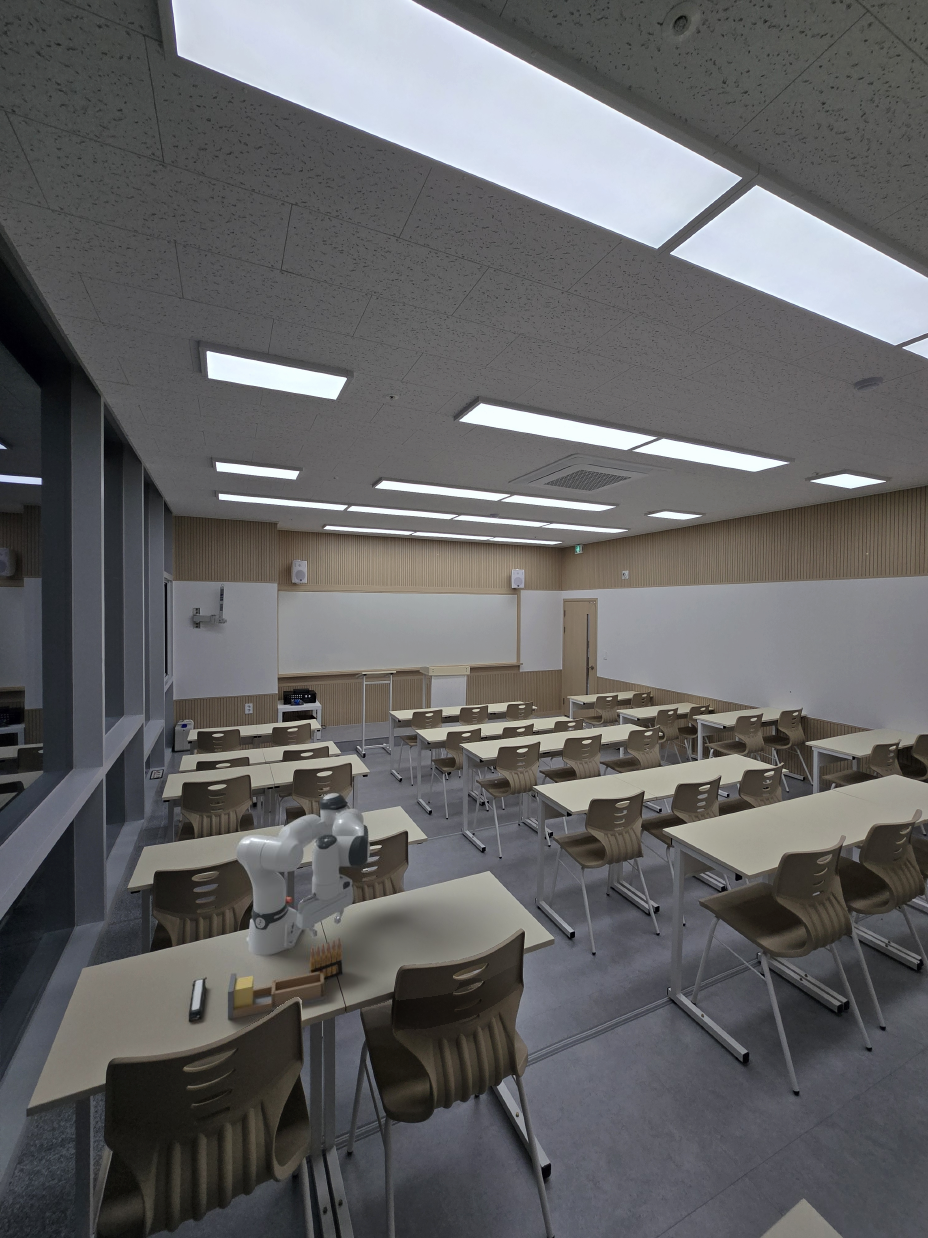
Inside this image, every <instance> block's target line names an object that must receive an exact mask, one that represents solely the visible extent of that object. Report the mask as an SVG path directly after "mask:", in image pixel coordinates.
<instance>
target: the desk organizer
mask: <svg viewBox="0 0 928 1238" xmlns="http://www.w3.org/2000/svg"><path fill="white" fill-rule="evenodd" d="M236 979H237V972H236V973H230V979H229V984H228V989H227V1020H233V1019H236V1018H241V1017H247V1016H252V1015H256V1014H261V1013H266V1012H271V1011H275V1010H274V1009H276V1008H277V1007H279V1006H280V1005H282V1004H284V1003H285V1002H286V1001H288V1000H290V999H292V998H294V997H299V998H300V999H301V1000H302V1004H301V1005H305V1004H310V1003H315V1002H320V1001H325V980H324V974H323V971H319V972H314V973H309V972H308V973H306V974H305V973H304V974H300V975H295V976H289V977H286V978H280V979H275V980H272V982H271V984H269V985H265V986H261V987H256V988H253V1005H251V1006H246V1007H242V1008H237V1009H234V987H235V981H236ZM276 1010H277V1009H276Z"/></svg>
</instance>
